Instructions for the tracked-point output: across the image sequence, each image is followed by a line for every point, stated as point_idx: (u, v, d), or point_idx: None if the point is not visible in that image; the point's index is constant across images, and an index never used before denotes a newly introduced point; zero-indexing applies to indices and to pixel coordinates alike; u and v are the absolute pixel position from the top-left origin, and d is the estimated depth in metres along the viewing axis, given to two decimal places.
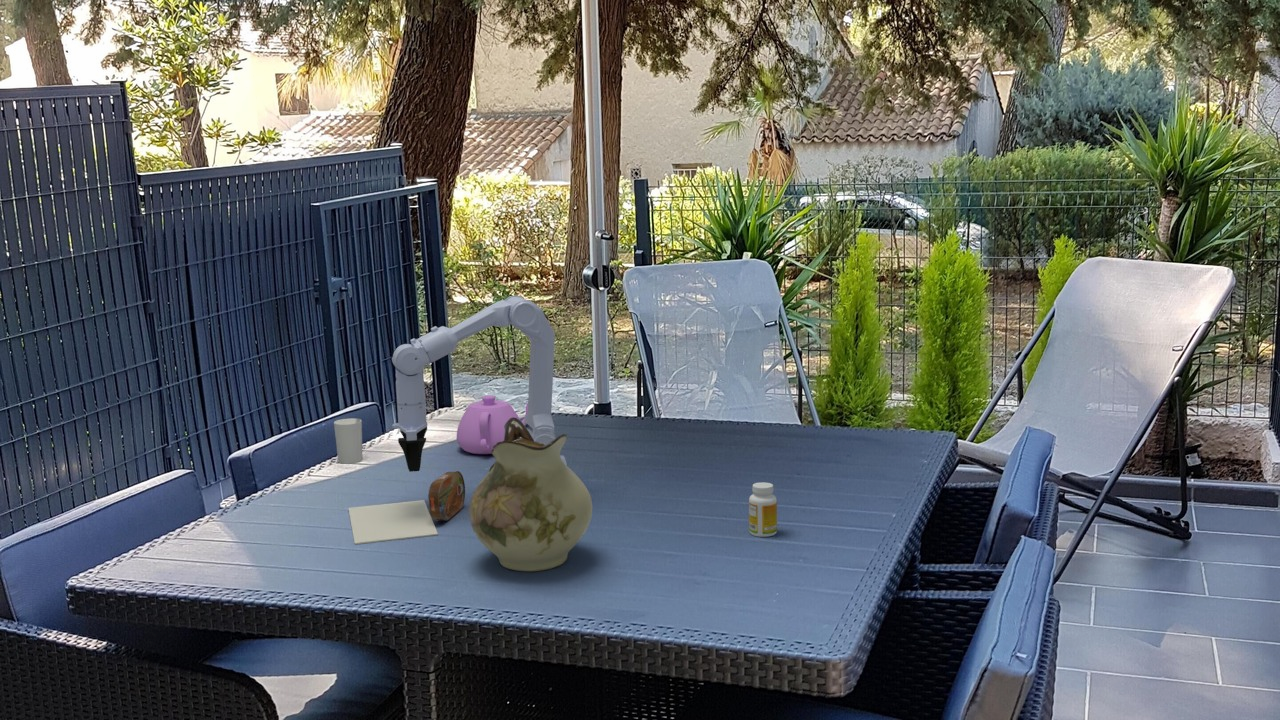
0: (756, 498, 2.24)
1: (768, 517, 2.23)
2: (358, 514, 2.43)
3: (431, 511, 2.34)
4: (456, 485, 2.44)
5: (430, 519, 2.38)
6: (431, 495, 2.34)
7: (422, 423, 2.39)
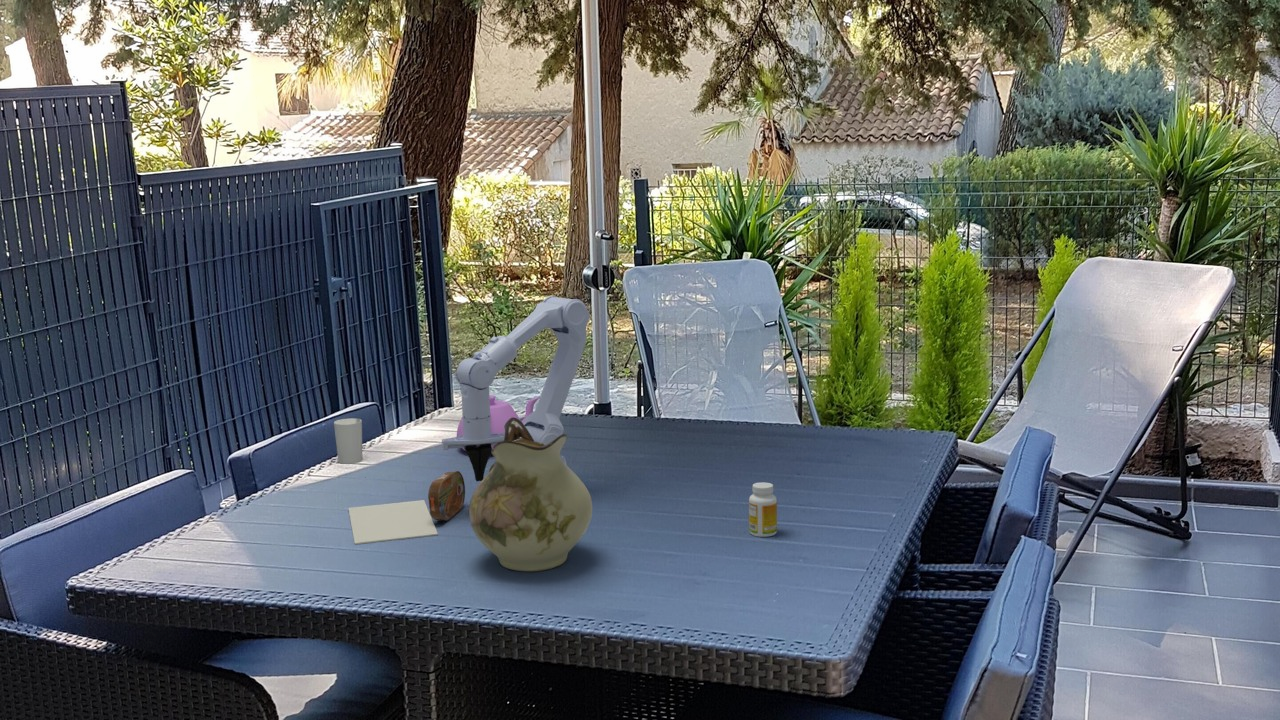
0: (756, 498, 2.24)
1: (768, 517, 2.23)
2: (358, 514, 2.43)
3: (431, 511, 2.34)
4: (456, 485, 2.44)
5: (430, 519, 2.38)
6: (431, 495, 2.34)
7: (469, 439, 2.38)
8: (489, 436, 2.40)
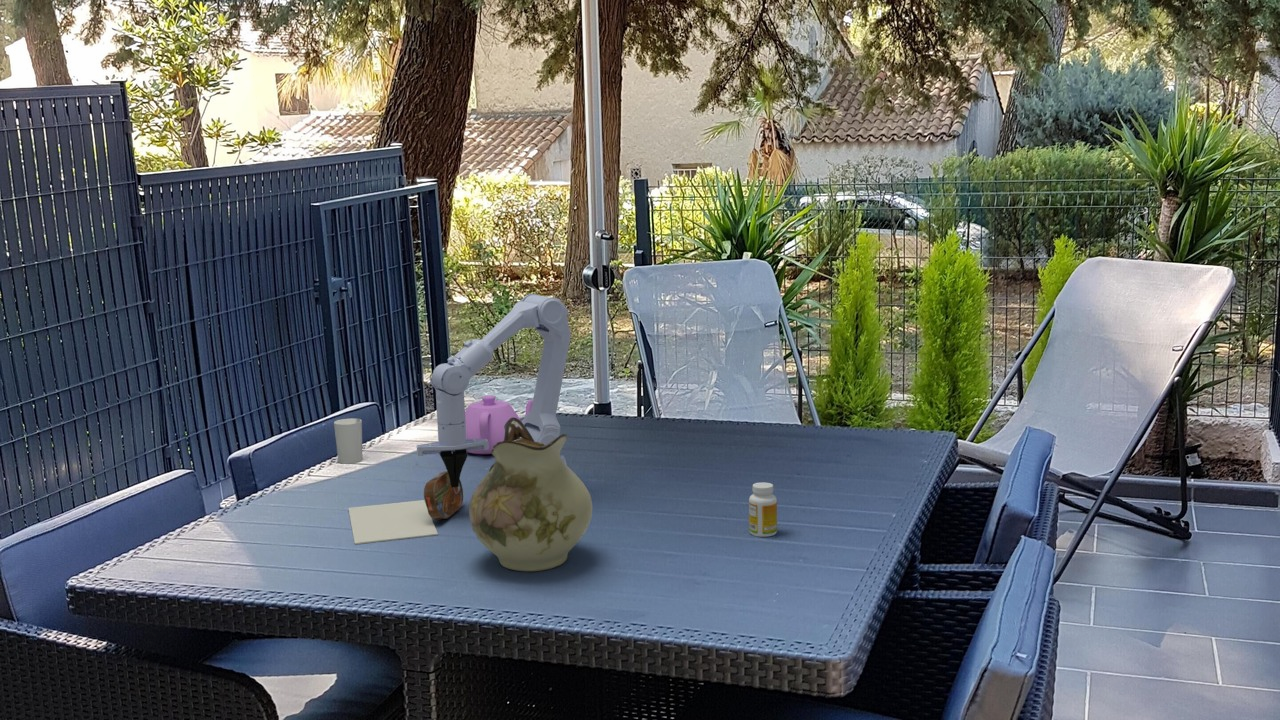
0: (756, 498, 2.24)
1: (768, 517, 2.23)
2: (358, 514, 2.43)
3: (429, 511, 2.35)
4: None
5: (430, 519, 2.38)
6: (426, 495, 2.34)
7: (444, 444, 2.37)
8: (464, 442, 2.38)
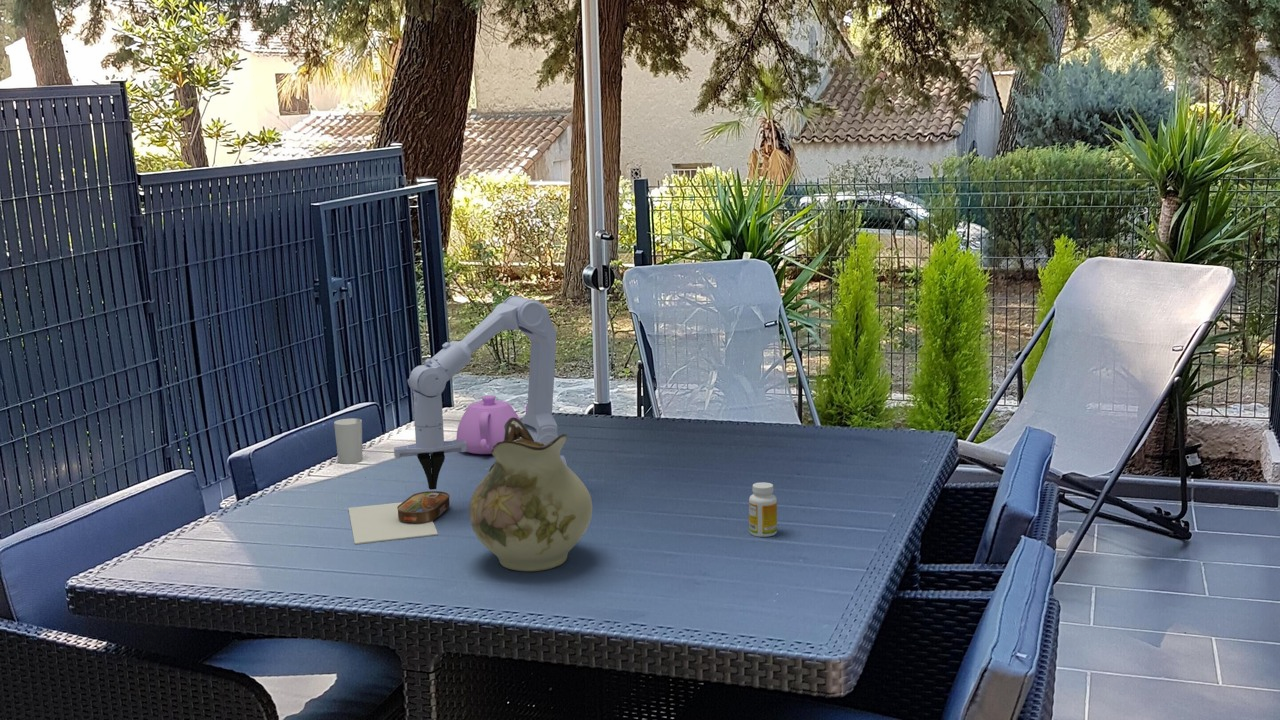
0: (756, 498, 2.24)
1: (768, 517, 2.23)
2: (358, 514, 2.43)
3: (417, 521, 2.35)
4: (424, 497, 2.46)
5: None
6: (402, 518, 2.36)
7: (422, 447, 2.36)
8: (442, 444, 2.37)
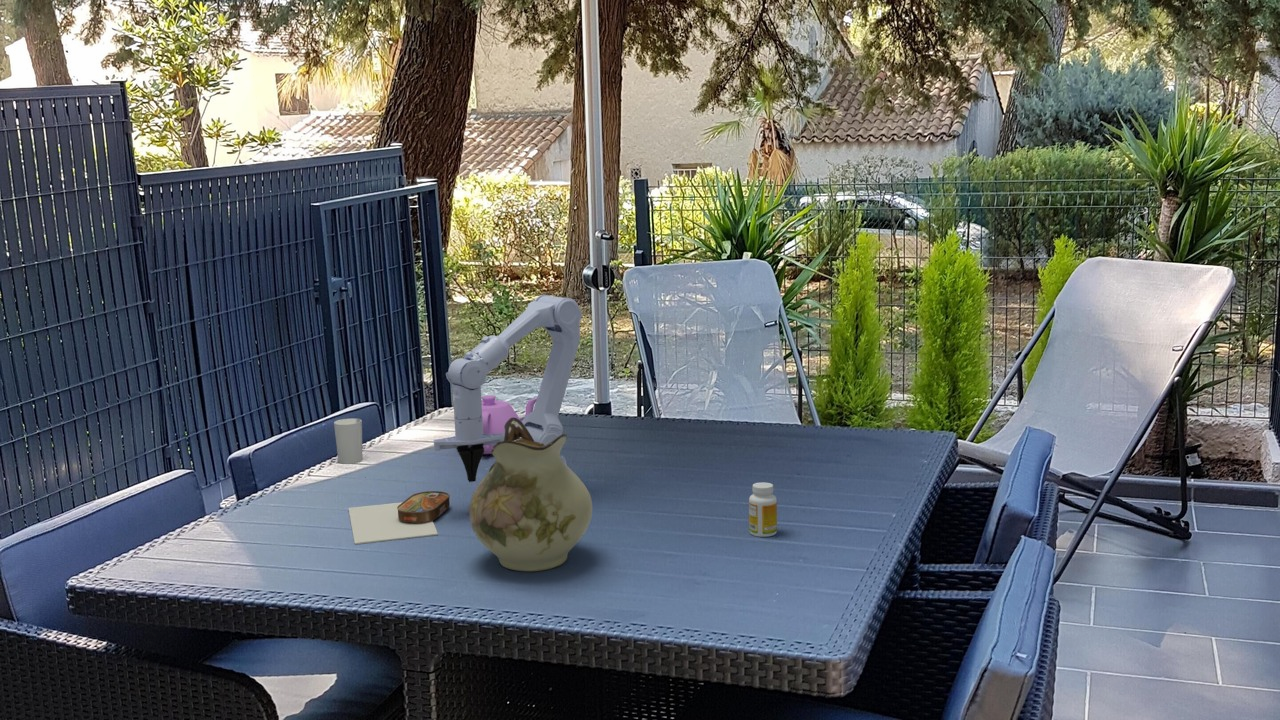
0: (756, 498, 2.24)
1: (768, 517, 2.23)
2: (358, 514, 2.43)
3: (417, 521, 2.35)
4: (424, 497, 2.46)
5: None
6: (402, 518, 2.36)
7: (461, 439, 2.37)
8: (481, 436, 2.39)
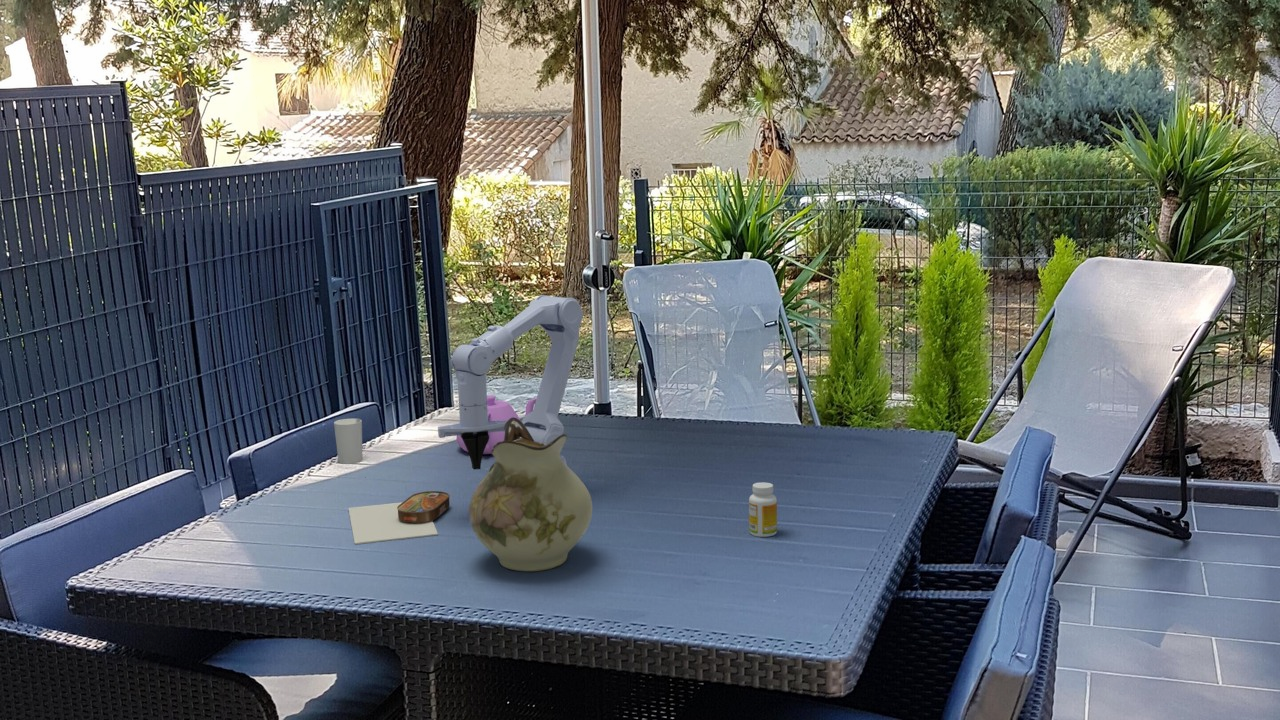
0: (756, 498, 2.24)
1: (768, 517, 2.23)
2: (358, 514, 2.43)
3: (417, 521, 2.35)
4: (424, 497, 2.46)
5: None
6: (402, 518, 2.36)
7: (466, 426, 2.35)
8: (486, 423, 2.36)
